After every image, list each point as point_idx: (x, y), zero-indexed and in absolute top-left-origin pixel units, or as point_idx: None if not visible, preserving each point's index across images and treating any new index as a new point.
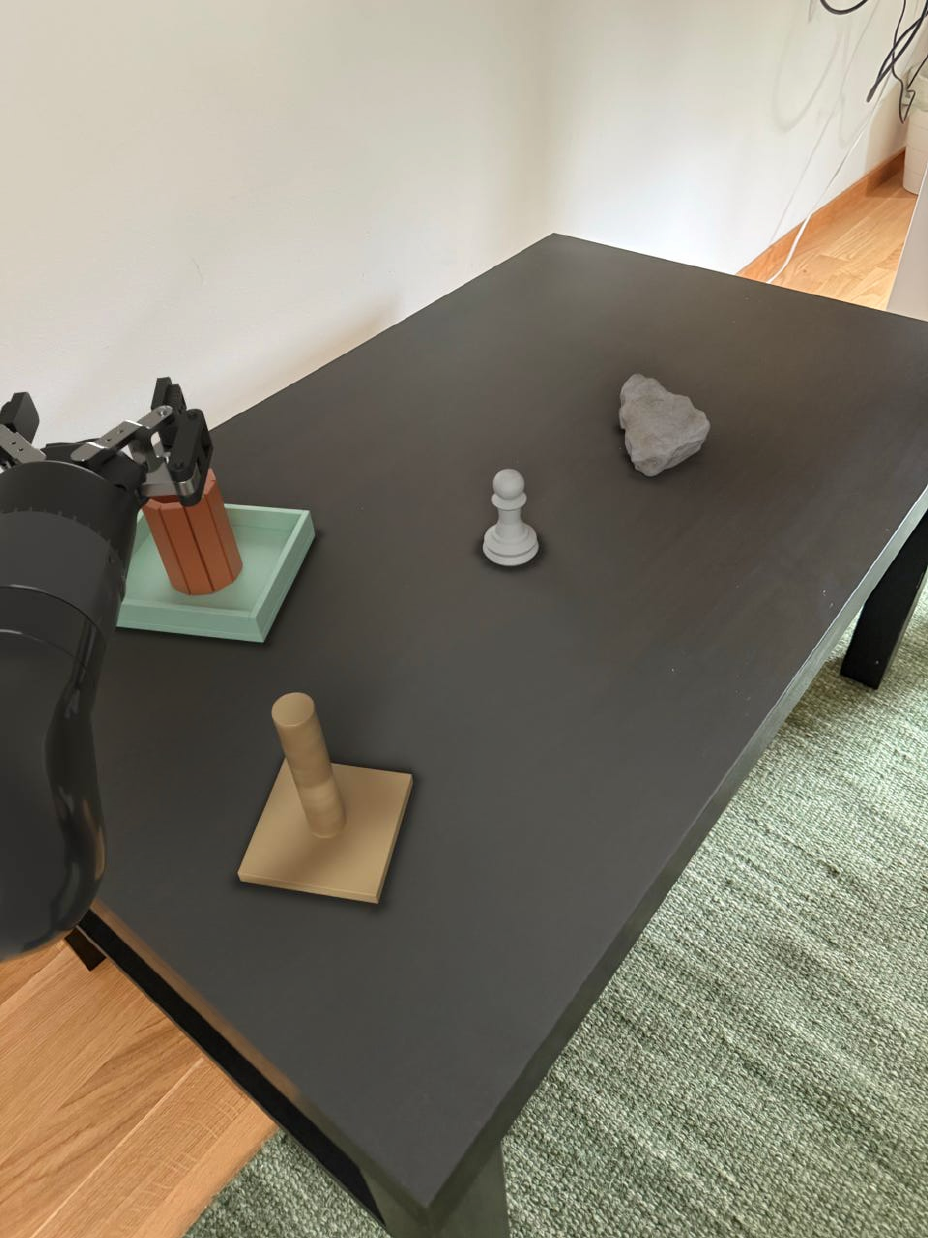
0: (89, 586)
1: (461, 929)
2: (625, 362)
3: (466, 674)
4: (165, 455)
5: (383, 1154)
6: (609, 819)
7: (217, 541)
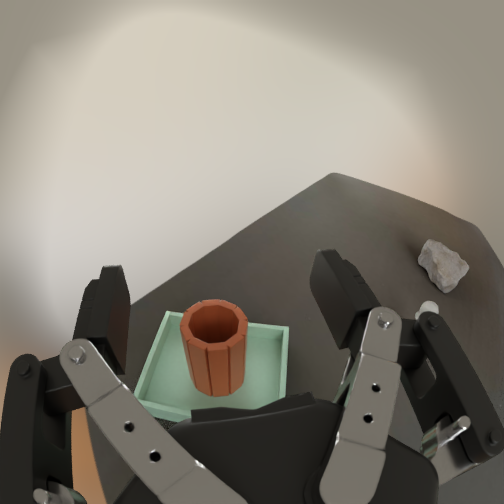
0: None
1: None
2: (398, 230)
3: (421, 439)
4: (465, 425)
5: None
6: (501, 495)
7: (241, 365)
